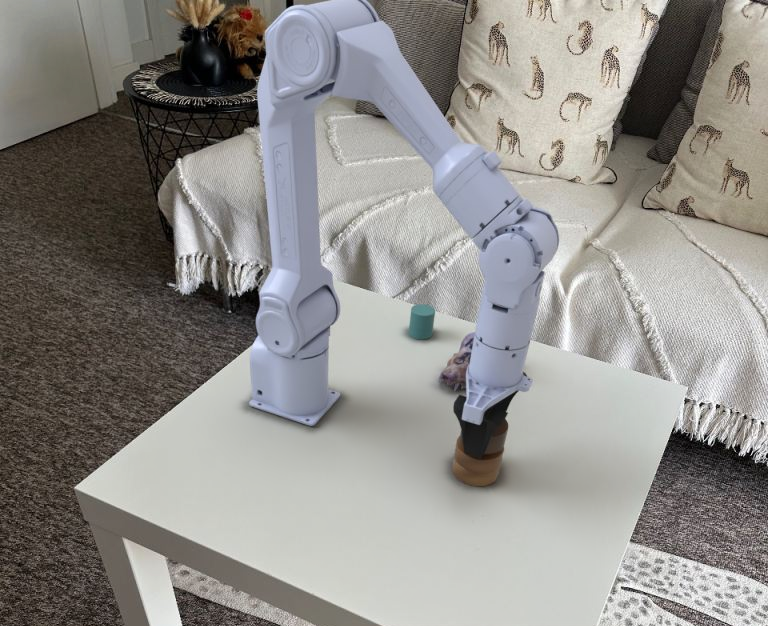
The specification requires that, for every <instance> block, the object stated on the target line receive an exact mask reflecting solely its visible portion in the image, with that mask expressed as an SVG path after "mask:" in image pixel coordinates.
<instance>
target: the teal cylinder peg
mask: <svg viewBox="0 0 768 626" xmlns="http://www.w3.org/2000/svg"><path fill="white" fill-rule="evenodd" d="M435 316H436V309H435V308H434V307H433V306H431V305H430V304H425V303H418V304H414V305H412V307H411V308H410V316H409V326H408V327H409V328H408V334H409V336H410V337H411V338H413V339H415V340H420V341H421V340H422V341H423V340H428V339H431V337H433V334H434V333H433V332H434V324H435Z"/></svg>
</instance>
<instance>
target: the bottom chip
mask: <svg viewBox="0 0 768 626" xmlns="http://www.w3.org/2000/svg"><path fill="white" fill-rule="evenodd" d="M500 469H501V465H500V466H499V467H498V469H496V470H495V471H492V472H489V473H474V472H470V471H467V470H465V469H464V468H462V467H461V466H459V465H458V463H457V462H456V460H455V457H454V456H453V459H452V466H451V471H452V475H453V476H454V477H455V478H456V479H457V481H459V482H461V483H463V484H465V485H468V486H470V487H471V486H473V487H485V486H489V485H491V484H493V483H495V482H496V481H497V479H498V477H499V474H500Z"/></svg>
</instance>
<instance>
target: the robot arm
mask: <svg viewBox="0 0 768 626" xmlns="http://www.w3.org/2000/svg"><path fill="white" fill-rule="evenodd" d="M264 42H265V54H266V55H265V58H264V62H263V65H262V69H261V72H260V76H259V79H258V82H257V91H256V92H257V94H256V96H257V107H258V108H257V109H258V119H259V129H260V140H261V141H260V142H261V143H260V144H261V152H262V154H261V155H262V161H263V162H262V163H263V174H264V187H265V197H266V198H265V199H266V206H267V219H268V221H267V222H268V230H269V242H270V254H271V264H272V267H271V270H270V272H269V274H268V275H267V277H266V279H265V281H264V283H263V285H262V286H261V288H260V290H259V294H258V296H259V308H258V311H257V313H256V317H255V327H256V332H257V336H256V338H255V340H254V341H253V343H252V346H251V349H250V354H249V370H250V371H249V373H250V384H251V385H250V387H251V397H252V398H251V399H250V401H249V402H248V403H249V406H250V407H253V408H255V409H258V410H260V411H264V412H267V413H270V414H273V415H276V416H280V417H282V418H284V419H288V420H291V421H294V422H297V423H300V424H304V425H306V426H309V427H314V426H315V425H316V424H317V423H318V422H319V421H320V420H321V419H322V417H324V415H325V414H326V413H327V412H328V411H329V410H330V409H331V408H332V406H333V405H334V404H335V403H336V402H337V401H338V400H339V399H340V398H341V393H340V392H339V391H335V390H333V389H330V388H329V359H330V358H329V352H330V351H329V349H330V348H329V347H330V336H331V326H334V324H336V322H337V321H338V320H339V318H340V315H341V303H340V299H339V297H338V294H337V293H336V290H335V287H334V278H333V277H334V275H333V272H332V271H331V270H330V269H328V268H327V267H326V266H325V265H323V264H322V259H321V258H322V257H321V236H320V235H321V234H320V209H319V186H318V185H319V183H318V161H317V142H316V141H317V140H316V139H317V138H316V137H317V136H316V117H315V116H316V111H317V109H318V108H319V107H320V106H322V104H323V103H324V102H325V101H326V100H327V99H328V98H329V97H330V96H331V95H332V96H333V97H336V98H343V99H349V100H359V101H363V102H369V103H372V104H374V105H375V107H376V108H377V109H378V110H379V111H380V113H382V115H383V116H384V117H385V118H386V119H387V120H388V121H389V122H390V124H392V126H393V127H394V128H395V129H396V131H398V133H400V135H401V136H402V137H403V138H404V139H405V140H406V141H407V142H408V144H409V145H410V146H411V147H412V148H413V149H414V150H415V152H416V153H417V154H418V155H419V156H420V157H421V158H422V159H423V160H424V161H425V163H426V164H427V165H428V166H429V167H430V168H431V170H432V191H433V193H434V194H435V196H436V197H437V198H438V200H439V201H440V202H441V203H442V204H443V206H444V207H445V209H447V210H448V212H449V214H451V216H452V217H453V219H454V220H455V221H456V222H457V223H458V225H459V226H460V227H461V228H462V230H463V231H464V232H465V233H466V235H467V236H468V237H469V238H470V240H472V242H473V243H474V245H475V246H476V247H477V248H478V249H479V250H480V251H478V257H477V258H478V265H479V269H480V272H481V275H482V276H483V277H484V282H483V287H482V290H481V296H480V302H479V308H478V314H477V319H476V324H475V330H474V332H475V335H474V341H473V347H472V353H471V358H470V364H469V365H468V367H467V371H466V388H465V391H466V392H465V393H466V394H465V395H466V396H465V395H463V394H458V396H457V397H456V399H455V401H454V402H453V413H454V415H455V417H456V419H457V421H458V423H459V426H460V432H461V431H462V440H463V449H464V453H465V454H467V455H470V456H473V457H476V458H479V459H481V458H482V456H483V455H484V453H485V451H486V449H487V447H488V444H489V442H490V439H491V437H492V435H493V432H494V431H495V430H496V429H497V428H498V427H499V426H500V425H501V423H502V422H503V421H504V419H506V418H507V416H508V414H509V412H507V411H508V409H509V407H510V405H511V402H512V400H513V399H514V397H515V396H516V395H517V393H518V392H519V391H520V392H522V393H526V392H527V393H528V392H529V390H530V389H531V387H532V384H533V379H532V378H531V377H530V376H528V375H527V374H526V373H525V372H524V370H525V365H526V360H527V356H528V353H529V348H530V342H531V339H532V334H533V331H534V327H535V323H536V318H537V315H538V314H537V313H538V309H539V305H540V301H541V291H542V289H543V284H544V280H545V275H546V273H545V271H544V269H545V268H546V267H547V266H548V265H549V264H550V263H551V262H552V260H553V259H554V258H555V255H556V253H557V251H558V249H559V244H560V233H559V229H558V227H557V225H556V223H555V221H554V220H553V216H552V214H551V213H550V212H549V211H547V210H546V209H544V208H541V207H538V206H534V205H533V204H532V202H531V201H530V200H529V198H528V197H526V198H525V199H524V198H523V197H522V196H521V194H520V193H519V192H518V190H517V189H516V188H515V187H514V185H513V184H512V183H511V182H510V180H509V179H508V177H507V176H506V175H505V173H504V172H503V171H502V170H501V168H500V167H499V166H500V165H501V163H502V159H501V158H500V156H499V155H498V154H497V152H495V151H494V150H491V151H489V152H488V151H486V149H485V148H484V147H483V145H481V144H477V143H468V142H464V141H462V140H461V139H460V137H459V136H458V135H457V133H456V131H455V130H454V128H452V125H451V124H450V123H449V121H448V120H447V118H446V117H445V116H444V114H443V112H442V111H441V110H440V108H439V107H438V105H437V104H436V102H435V101H434V99H433V98H432V97H431V95H430V93H429V92H428V90H427V89H426V88H425V86H424V85H423V83H422V82H421V80H420V79H419V77H418V75H417V74H416V72H414V70H413V68H412V67H411V66H410V64H409V63H408V62H407V59H405V57H404V56H403V54H402V52H401V50H400V47H399V45H398V42H397V39H396V37H395V34H394V30H393V29H392V28H391V27H390V26H389V25H388V24H387V22H385V21H384V20H381V19H380V17H379V15H378V13H377V11H376V9H375V8H374V7H373V6H372V4H371V3H370V2H369V1H368V0H326V1H320V2H316V3H315V2H314V3H310V4H295V5H291V6H289V7H287V8H286V9H284V10H283V12H281V14H280V15H278V17H277V18H275V20H274V21H273V22H272V23H271V24H270V25H269V26H268V27H267V28H266V29H265V31H264Z"/></svg>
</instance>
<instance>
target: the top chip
mask: <svg viewBox="0 0 768 626" xmlns="http://www.w3.org/2000/svg"><path fill="white" fill-rule="evenodd" d="M504 452H505V446H504V447H503V448H502V449H501V450H500V451H498V452H496V453H493V454H484V455H483V456H482V458H481V459H479V458H476V457H473V456H470V455H467V454H465V453H464V449H463V444H462V443H461V441H460V435H459V436H458V437H457V438H456V443H455V449H454V455H453V458H454V457H455V460H456V462H457V463H458V465H459V466H461V467H462V468H464V469H465V470H467V471H470V472H474V473H489V472H492V471H495V470H496V469H498V467H499V466H500V467H501V465H502V460H503V457H504Z"/></svg>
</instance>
